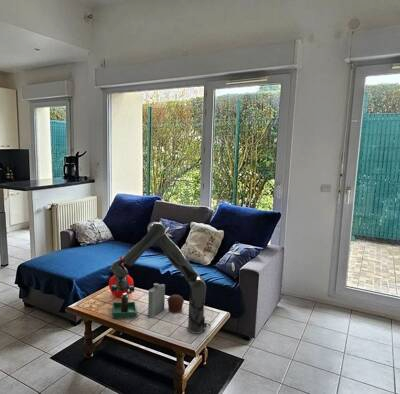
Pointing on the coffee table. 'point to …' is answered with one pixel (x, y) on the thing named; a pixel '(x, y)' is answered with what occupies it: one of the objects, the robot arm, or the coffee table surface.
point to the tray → (118, 314)
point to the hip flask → (156, 299)
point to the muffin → (175, 303)
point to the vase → (112, 281)
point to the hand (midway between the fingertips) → (123, 292)
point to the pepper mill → (124, 302)
